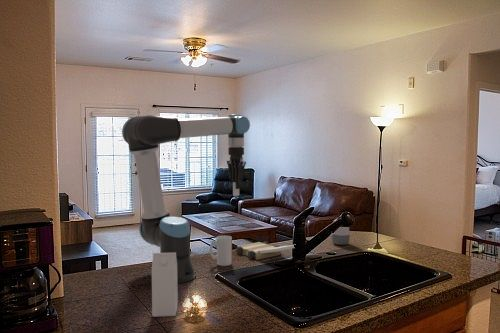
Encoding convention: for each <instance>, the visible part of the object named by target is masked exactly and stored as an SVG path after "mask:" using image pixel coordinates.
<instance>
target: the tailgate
mask: <svg viewBox="0 0 500 333" xmlns="http://www.w3.org/2000/svg"><path fill="white" fill-rule="evenodd" d="M294 245H295V244H290V245H283V246H281V245H280V247H276V248H271V249H266V250H261V251H258V253H268V252H277V251H281V252H282V251H287V250H292V249H296V248H295V247H294Z"/></svg>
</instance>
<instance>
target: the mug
mask: <svg viewBox="0 0 500 333" xmlns="http://www.w3.org/2000/svg"><path fill="white" fill-rule="evenodd" d="M214 245H216V255H215V254H214V252H213V247H214ZM232 245H233V239H232V236H231V235H218V236H216V241H215V240H212V241H211V242H210V245H209V254H210V256H211V259H212V260H216V265H217V266H220V267H228V266H230V265H232V253H233V252H232V248H233V246H232Z"/></svg>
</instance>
